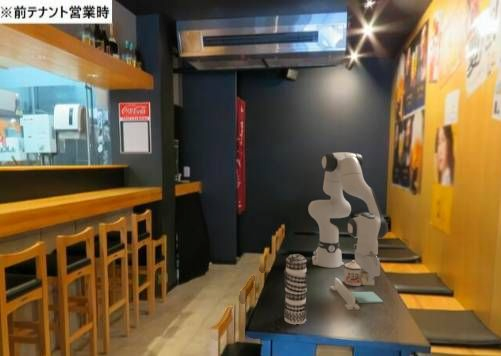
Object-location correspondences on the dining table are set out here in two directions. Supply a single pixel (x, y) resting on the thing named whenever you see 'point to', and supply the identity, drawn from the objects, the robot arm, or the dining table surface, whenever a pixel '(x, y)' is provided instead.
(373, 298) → the pad
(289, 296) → the decorative candle
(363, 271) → the maple block
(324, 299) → the dining table surface
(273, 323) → the dining table surface
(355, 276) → the teacup with lid
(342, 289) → the divider wall
